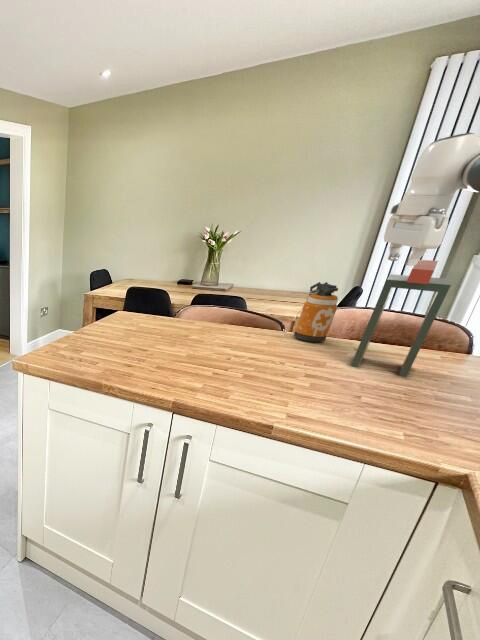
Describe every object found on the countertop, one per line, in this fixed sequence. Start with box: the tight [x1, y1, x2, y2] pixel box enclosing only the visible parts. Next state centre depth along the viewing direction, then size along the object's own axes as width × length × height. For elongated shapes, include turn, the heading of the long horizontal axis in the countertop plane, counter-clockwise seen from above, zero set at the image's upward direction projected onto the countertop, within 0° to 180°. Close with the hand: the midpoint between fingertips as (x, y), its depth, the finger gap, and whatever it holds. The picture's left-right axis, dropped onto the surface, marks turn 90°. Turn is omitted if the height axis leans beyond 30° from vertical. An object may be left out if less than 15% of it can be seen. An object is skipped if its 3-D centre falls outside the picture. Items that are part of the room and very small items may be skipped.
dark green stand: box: [350, 273, 453, 378], centre depth 115 cm, size 12×11×26 cm
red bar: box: [407, 259, 439, 284], centre depth 111 cm, size 4×22×4 cm, turn 131°
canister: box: [293, 281, 339, 343], centre depth 141 cm, size 9×11×20 cm
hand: (400, 262), depth 109 cm, fingers open, 8 cm apart
